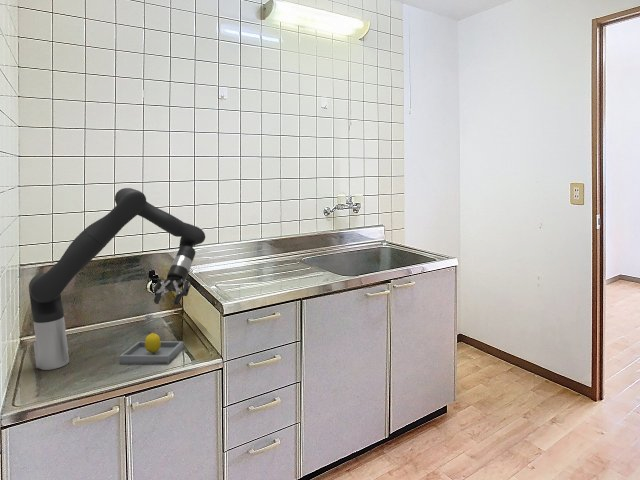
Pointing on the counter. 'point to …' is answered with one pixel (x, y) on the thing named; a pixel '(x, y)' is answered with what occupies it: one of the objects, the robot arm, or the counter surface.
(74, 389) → the counter surface
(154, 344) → the lemon
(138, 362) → the tray
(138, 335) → the counter surface
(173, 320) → the counter surface
